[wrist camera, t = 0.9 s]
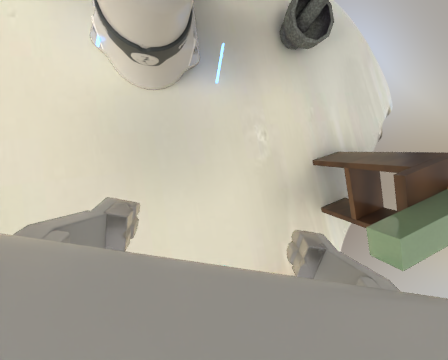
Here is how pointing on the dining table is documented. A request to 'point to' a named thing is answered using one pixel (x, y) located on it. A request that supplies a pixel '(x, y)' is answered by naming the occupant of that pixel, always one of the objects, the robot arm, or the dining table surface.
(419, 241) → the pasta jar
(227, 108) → the dining table surface
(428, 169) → the rack
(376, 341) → the robot arm
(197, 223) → the dining table surface
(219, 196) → the dining table surface
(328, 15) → the mortar and pestle
